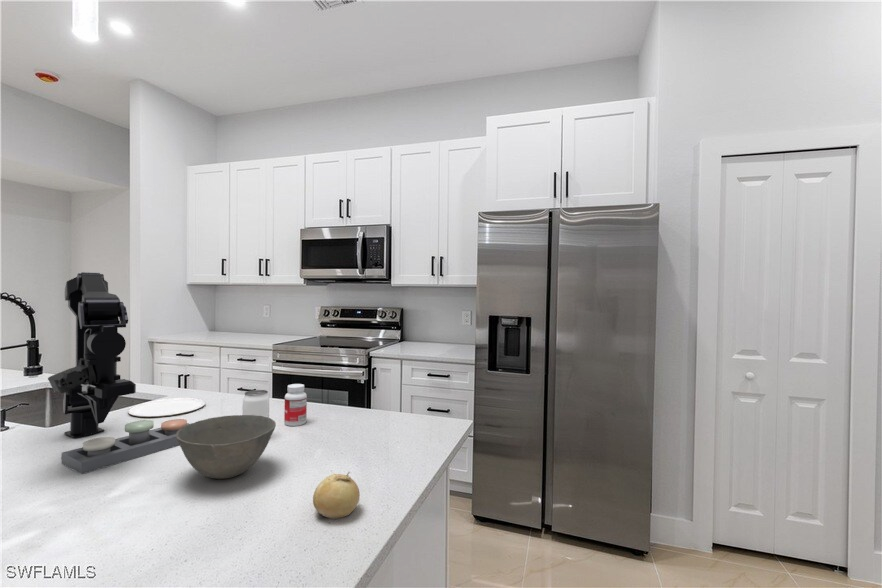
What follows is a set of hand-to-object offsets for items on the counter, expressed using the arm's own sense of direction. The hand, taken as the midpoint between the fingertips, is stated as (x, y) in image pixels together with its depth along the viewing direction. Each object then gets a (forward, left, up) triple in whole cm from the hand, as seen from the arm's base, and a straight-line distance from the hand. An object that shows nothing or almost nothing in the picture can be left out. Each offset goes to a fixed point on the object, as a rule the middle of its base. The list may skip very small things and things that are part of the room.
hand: (99, 422), depth 94 cm
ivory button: (0, 0, -8) cm, 8 cm away
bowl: (+30, +11, -9) cm, 33 cm away
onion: (+60, +12, -9) cm, 62 cm away
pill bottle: (+15, +42, -9) cm, 45 cm away
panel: (0, +8, -9) cm, 12 cm away
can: (+16, +28, -9) cm, 33 cm away
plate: (-30, +30, -9) cm, 44 cm away
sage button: (0, +8, -7) cm, 10 cm away
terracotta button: (0, +16, -8) cm, 18 cm away
